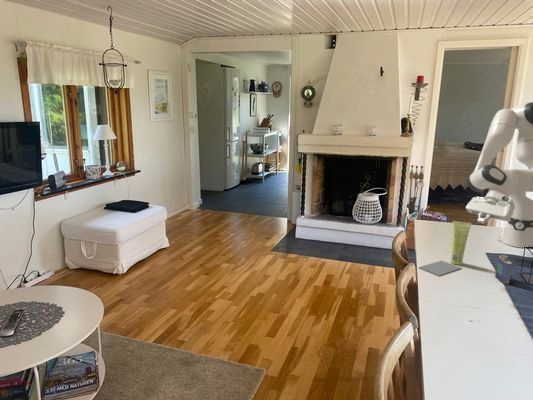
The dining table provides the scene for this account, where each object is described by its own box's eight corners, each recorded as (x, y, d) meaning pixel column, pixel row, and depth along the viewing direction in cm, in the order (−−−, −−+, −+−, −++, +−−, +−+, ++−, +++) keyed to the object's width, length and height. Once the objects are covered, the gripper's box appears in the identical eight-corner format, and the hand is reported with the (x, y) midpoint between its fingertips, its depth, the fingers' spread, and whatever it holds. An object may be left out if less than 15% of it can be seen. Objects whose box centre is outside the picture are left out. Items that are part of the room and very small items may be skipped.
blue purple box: (510, 284, 161) (514, 259, 158) (502, 284, 161) (506, 259, 159) (500, 275, 170) (504, 251, 167) (493, 274, 170) (496, 251, 168)
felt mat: (441, 261, 184) (441, 260, 184) (461, 268, 176) (461, 267, 176) (418, 268, 176) (418, 267, 176) (438, 276, 168) (438, 275, 168)
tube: (457, 260, 186) (462, 219, 181) (465, 264, 181) (471, 222, 177) (447, 261, 184) (452, 220, 179) (456, 265, 179) (461, 224, 175)
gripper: (472, 191, 197) (457, 213, 194) (515, 199, 179) (499, 223, 177) (476, 199, 200) (462, 221, 197) (519, 208, 183) (504, 231, 180)
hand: (480, 222), depth 187 cm, fingers closed
